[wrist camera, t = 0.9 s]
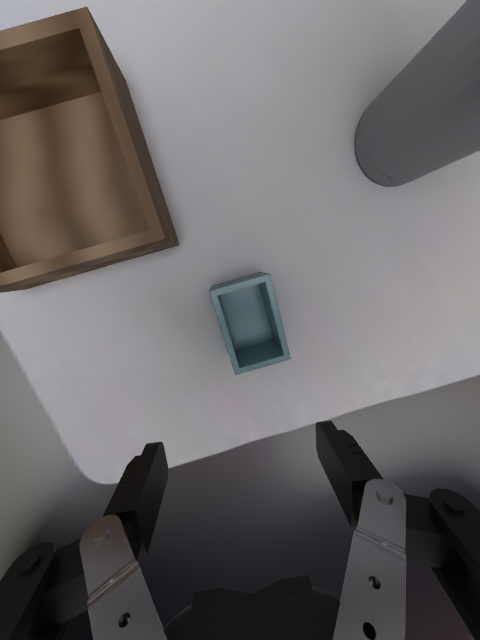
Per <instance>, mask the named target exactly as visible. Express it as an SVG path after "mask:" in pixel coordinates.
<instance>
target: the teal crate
mask: <svg viewBox="0 0 480 640" xmlns="http://www.w3.org/2000/svg"><path fill="white" fill-rule="evenodd" d="M209 292H210V295H211V298H212V302H213V305H214V308H215V311H216V314H217V318H218V321H219V324H220V327H221V331H222V334H223V337H224V340H225V343H226V347H227V350H228V353H229V356H230V359H231V363H232V366H233V369H234V372H235V375H238V374H241V373H244V372H248V371H251V370H255V369H258V368H261V367H265V366H268V365H272V364H275V363H279V362H282V361H285V360H289V359H291V357H290V353H289V349H288V345H287V341H286V337H285V333H284V329H283V325H282V321H281V317H280V313H279V308H278V304H277V300H276V296H275V292H274V288H273V284H272V280H271V276H270V274H268V273H263V272H259V273H256V274H252V275H249V276H245V277H242V278H238V279H235V280H232V281H228V282H225V283H221V284H218V285H214V286H212V287H211V289H210V291H209Z"/></svg>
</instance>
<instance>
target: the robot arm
mask: <svg viewBox="0 0 480 640" xmlns="http://www.w3.org/2000/svg"><path fill="white" fill-rule="evenodd" d="M355 149H356V155H357V159H358V162H359V164H360V166H361V168H362V170H363V171H364V173H365V174H366V175H367V176H368V177H369V178H370V179H371V180H373V181H374V182H376V183H378V184H380V185H385V186H398V185H401V184H405V183H407V182H409V181H412V180H414V179H416V178H418V177H421V176H423V175H425V174H427V173H430V172H432V171H435V170H437V169H439V168H441V167H444V166H446V165H448V164H450V163H453V162H455V161H457V160H459V159H462V158H464V157H466V156H468V155H471V154H473V153H475V152H478V151H480V0H467V1H466V2H465V3H464V4H463V5H462V6H461V7H460V9H459V10H458V11H457V12H456V13H455V14H454V15H453V16H452V17H451V18H450V19H449V20H448V21H447V23H446V24H445V25H444V26H443V27H442V28H441V29H440V30H439V31H438V32H437V33H436V34H435V35H434V37H433V38H432V39H431V40H430V41H429V42H428V43H427V44H426V45H425V46H424V47H423V48H422V49H421V51H420V52H419V53H418V54H417V55H416V56H415V57H414V58H413V59H412V60H411V61H410V62H409V63H408V64H407V66H406V67H405V68H404V69H403V70H402V71H401V72H400V73H399V74H398V75H397V76H396V77H395V78H394V79H393V80H392V81H391V83H390V84H389V85H388V86H387V87H386V88H385V89H384V90H383V91H382V92H381V93H380V94H379V96H378V97H377V98H376V99H375V100H374V101H373V102H372V103H371V104H370V106H369V107H368V108H367V109H366V110H365V112H364V114H363V116H362V118H361V119H360V122H359V125H358V128H357V132H356V139H355ZM316 448H317V453H318V457H319V460H320V462H321V464H322V466H323V469H324V471H325V473H326V475H327V477H328V479H329V481H330V483H331V485H332V488H333V490H334V492H335V494H336V496H337V498H338V501H339V503H340V505H341V507H342V509H343V511H344V513H345V515H346V518H347V520H348V522H349V524H350V526H351V527H357V529H355V531H354V535H353V540H352V545H351V551H350V555H349V560H348V565H347V570H346V575H345V580H344V586H343V591H342V596H341V601H340V600H339V599H338V598H336V597H334V596H333V595H332V594H330V593H328V592H326V591H324V590H321V589H318V588H314V587H312V586H311V582H310V578H309V575H306V576H299V577H293V578H286V579H280V580H278V581H276V582H274V583H272V584H271V585H269V586H267V587H265V588H263V589H261V590H259V591H257V592H255V593H252V594H249V593H244V592H239V591H234V590H229V589H224V588H218V589H211V590H204V591H198V592H193V597H192V605H191V606H189V607H187V608H186V609H185V610H183V611H182V612H180V613H179V614H178V615H177V616H176V617H175V618H174V619H172V621H171V622H170V623H169V624H168V625H167V626H166V627H165V629H164V630H163V627H162V625H161V622H160V620H159V617H158V614H157V612H156V609H155V607H154V604H153V601H152V599H151V596H150V593H149V591H148V588H147V585H146V583H145V581H144V578H143V575H142V572H141V570H140V567H139V565H138V562H137V558H138V557H140V556H147V555H148V551H149V547H150V544H151V540H152V536H153V532H154V529H155V525H156V521H157V517H158V513H159V510H160V506H161V502H162V498H163V494H164V491H165V487H166V483H167V479H168V464H167V460H166V455H165V450H164V445H163V443H162V442H155V443H147V444H146V445H145V447H144V450H143V452H142V454H141V455H140V456H135V457H134V458H133V459H132V461H131V462H130V463H129V464H128V465H127V467H126V469H125V471H124V473H123V477H121V479H120V481H119V485H118V486H117V488H116V490H115V492H114V494H113V496H112V498H111V500H110V502H109V504H108V507H107V508H106V510H105V513H104V515H103V517H102V518H100V519H98V520H97V521H95V522H94V523H93V524H92V525H91V526H90V527H89V528H88V529H87V530H86V531H85V533H84V534H83V536H82V538H81V539H79V540H77V541H75V542H72V543H70V544H68V545H66V546H63V547H61V548H59V549H57V550H55V548H54V545H53V544H52V543H50V542H43V543H39V544H37V545H35V546H33V547H31V548H30V549H28V550H26V551H25V552H24V553H23V554H21V555H20V556H19V557H18V558H17V559H16V560H15V561H14V562H13V564H12V565H11V566H10V567H9V569H8V570H7V572H6V573H5V575H4V577H3V578H2V580H1V581H0V640H63V637H64V635H65V632H66V630H67V627H68V625H69V622H70V620H71V618H73V617H75V616H76V615H78V614H80V613H81V612H84V611H86V610H88V611H89V616H90V622H91V628H92V634H93V640H405V598H406V597H405V596H406V561H410V562H414V563H418V564H423V565H427V566H430V567H431V569H432V571H433V572H434V574H435V575H436V577H437V579H438V580H439V582H440V583H441V585H442V587H443V588H444V590H445V592H446V593H447V595H448V597H449V598H450V600H451V602H452V603H453V605H454V606H455V608H456V610H457V611H458V613H459V614H460V616H461V618H462V619H463V621H464V623H465V624H466V626H467V627H468V629H469V631H470V632H471V634H472V636H473V637H474V639H475V640H480V511H479V510H478V509H477V508H476V507H475V506H474V505H473V504H472V503H471V502H470V501H469V500H468V499H466V498H465V497H463V496H462V495H460V494H458V493H456V492H454V491H451V490H447V489H434V490H433V491H431V493H430V496H429V498H424V497H418V496H412V495H407V494H404V493H402V491H401V490H400V489H399V488H398V487H396V486H395V485H394V484H392V483H390V482H388V481H386V480H384V479H383V478H382V476H381V475H380V474H379V472H378V471H377V469H376V468H375V467H374V465H373V464H372V463H371V461H370V460H369V458H368V457H367V456H366V454H365V453H364V452H363V450H362V449H361V447H360V446H359V445H358V443H357V442H356V440H355V439H354V438H353V436H351V435H350V434H349V433H347V432H346V431H344V430H337V429H336V427H335V426H334V424H333V423H332V421H323V422H317V423H316Z"/></svg>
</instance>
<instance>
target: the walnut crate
mask: <svg viewBox="0 0 480 640" xmlns="http://www.w3.org/2000/svg"><path fill="white" fill-rule="evenodd" d="M178 245H179V243H178V240H177V236H176V233H175V230H174V227H173V224H172V221H171V218H170V215H169V212H168V209H167V206H166V203H165V200H164V197H163V194H162V190H161V187H160V184H159V181H158V178H157V175H156V172H155V169H154V166H153V163H152V160H151V157H150V154H149V151H148V148H147V144H146V141H145V138H144V135H143V132H142V129H141V126H140V123H139V120H138V117H137V114H136V111H135V108H134V105H133V102H132V98H131V95H130V92H129V89H128V86H127V83H126V80H125V78H124V76H123V74H122V73H121V71H120V69H119V67H118V65H117V63H116V61H115V59H114V57H113V55H112V53H111V51H110V50H109V48H108V46H107V44H106V42H105V40H104V38H103V36H102V34H101V32H100V30H99V28H98V27H97V25H96V23H95V21H94V19H93V17H92V15H91V13H90V11H89V9H88V7H84V8H80V9H77V10H73V11H70V12H66V13H62V14H59V15H55V16H52V17H48V18H45V19H41V20H37V21H34V22H30V23H27V24H23V25H19V26H16V27H12V28H9V29H5V30H2V31H0V293H1V292H9V291H17V290H25V289H29V288H32V287H35V286H39V285H42V284H46V283H49V282H53V281H56V280H60V279H63V278H67V277H70V276H74V275H77V274H81V273H84V272H88V271H91V270H94V269H98V268H101V267H105V266H108V265H112V264H115V263H119V262H122V261H126V260H129V259H133V258H136V257H140V256H143V255H146V254H150V253H153V252H157V251H160V250H164V249H167V248H171V247H174V246H178Z"/></svg>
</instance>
